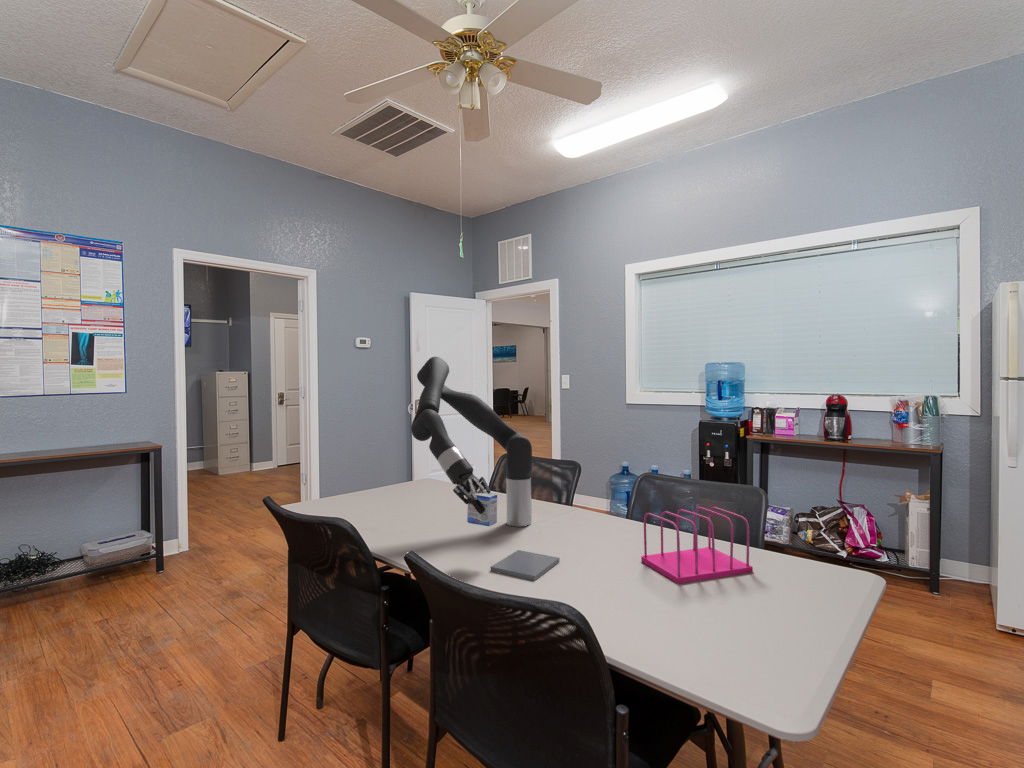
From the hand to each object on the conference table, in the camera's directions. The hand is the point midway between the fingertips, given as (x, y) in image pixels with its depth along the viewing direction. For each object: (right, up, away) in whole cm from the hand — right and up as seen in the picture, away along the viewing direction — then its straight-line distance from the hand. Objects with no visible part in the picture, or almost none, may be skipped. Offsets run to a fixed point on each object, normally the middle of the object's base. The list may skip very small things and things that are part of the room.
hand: (487, 509), depth 148 cm
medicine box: (-2, -4, +1) cm, 5 cm away
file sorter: (+60, -16, -4) cm, 62 cm away
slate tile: (+11, -15, -3) cm, 19 cm away
